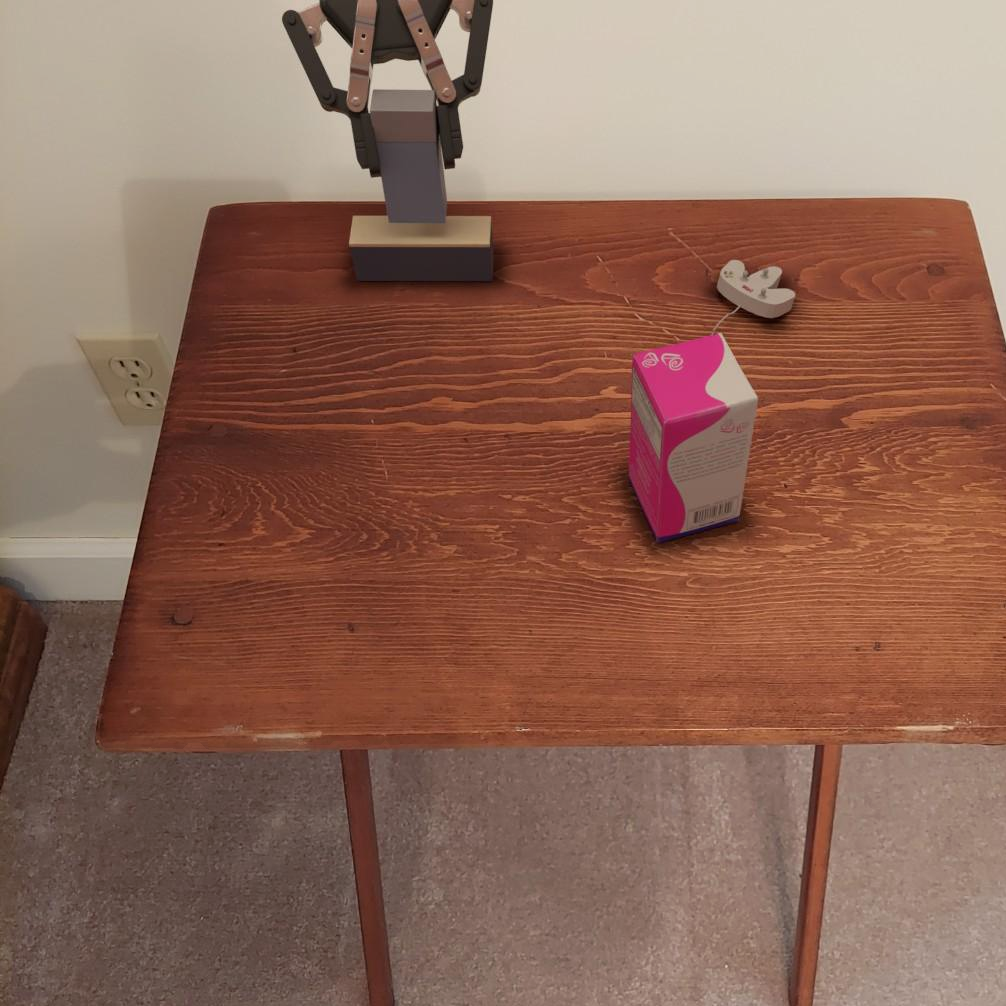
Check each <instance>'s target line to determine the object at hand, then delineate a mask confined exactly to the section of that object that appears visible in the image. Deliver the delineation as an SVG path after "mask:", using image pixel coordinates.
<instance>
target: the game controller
mask: <svg viewBox="0 0 1006 1006" xmlns="http://www.w3.org/2000/svg"><path fill="white" fill-rule="evenodd" d="M782 274H783V270H782V268H781V267H779V266H776V265H774V266H773V265H772V266H768V267H765V268H763V269H761V270H759V271H756V272H754V273H752V274H750V275H749V271H748V270H746V268H745V264H744V262H742V261H740V260H738V259H731V260H729V261H728V263H726V264H725V265H724V266H723V267H722V268H721V270H720V273H719V275H718V276H719V277H718V280H717V285H716V289H717V291H718V292H719V293H720V294H721V295H722V296H723V297H724V298H725V299H726V300H728V301H729V302H731V303H733V304H734V305H736V306H737V307H736V308H735V309H734V310H733V311H732V312H728V313H726V315H724V316H723V317H722V318H721V319H720V320H719V321H718V323H717V324H716V325H715V326H714V328H713V329H712V332H711V334H710V335H714V334H715V331H716V329H717V328H718V326H720V324H721V323H722V322H723V321H724V319H726V318H727V317H728V316H729V315H733V314H735V313H736V312H737V311H738V310H739V309H740V308H742V309H743V310H745V311H747V312H749V313H752V314H754V315H756V316H759V317H763V318H767V319H775V318H778V317H781V316H783V315H784V314H787V313H788V312H790V311H792V308H793V305H794V301H795V298H796V293H795V291H794V290H792V289H790V288H778V287H779V284H780V281H781V277H782ZM748 275H749V276H748Z"/></svg>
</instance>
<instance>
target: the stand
mask: <svg viewBox="0 0 1006 1006" xmlns="http://www.w3.org/2000/svg"><path fill="white" fill-rule="evenodd" d="M348 246H349V250H350V255H351V260H352V264H353V270H354V275H355V279H356V281H357V282H493V279H494V278H493V277H494V260H495V249H494V248H495V247H494V237H493V222H492V216H491V215H446V222H445V223H389V221H388V215H352V221H351V226H350V233H349V241H348Z"/></svg>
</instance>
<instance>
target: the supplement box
mask: <svg viewBox="0 0 1006 1006" xmlns="http://www.w3.org/2000/svg"><path fill="white" fill-rule="evenodd" d="M630 388H631V390H630V391H631V393H630V425H629V426H630V428H629V453H628V454H629V455H628V456H629V457H628V479H629V482H630V484H631V486H632V489H633V491H634V494H635V496H636V498H637V500H638V502H639V505H640V507H641V510H642V512H643V514H644V516H645V519H646V521H647V523H648V525H649V527H650V530H651V532H652V534H653V536H654V539H655V541H656V542H657V543H664V542H667V541H668V542H669V541H670V540H675V539H679V538H682V537H686V536H689V535H694V534H697V533H700V532H703V531H708V530H711V529H715V528H718V527H722V526H725V525H729V524H732V523H733V524H734V523H737V522H739V521H740V516H741V512H742V511H741V510H742V503H743V496H744V491H745V486H746V479H747V472H748V467H749V460H750V453H751V447H752V441H753V433H754V427H755V421H756V416H757V410H758V404H759V402H758V401H759V397H758V395H757V394H756V392H755V390H754V389H753V387H752V385H751V383H750V382H749V380H748V378H747V376H746V374H745V373H744V371H743V369H742V368H741V366H740V364H739V363H738V360H737V359H736V357H735V355H734V353H733V352H732V350H731V348H730V346H729V344H728V342H727V340H726V339H725V337H724V335H723V333H722V332H718V333H714V334H713V335H711V334H710V335H707V336H702V337H698V338H695V339H690V340H687V341H682V342H678V343H676V344H675V343H674V344H670V345H667V346H662V347H659V348H658V347H657V348H654V349H650V350H646V351H642V352H638V353H634V354H633V355H632V359H631V387H630Z"/></svg>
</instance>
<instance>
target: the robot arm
mask: <svg viewBox="0 0 1006 1006" xmlns="http://www.w3.org/2000/svg"><path fill="white" fill-rule="evenodd" d="M493 7H494V0H319V2H317V3H315V4H313V5H310V6H308V7H306V8H303V9H301V10H299V11H297V10H294V9H288V10H285V11H284V12H283V13H282V17H281V22H282V23H281V24H282V25H283V27H284V30H285V31H286V34H287V36H288V39H289V40H290V43H291V45H292V46H293V49H294V51H295V53H296V55H297V57H298V60H299V61H300V65H302V68H303V70H304V72H305V74H306V76H307V79H308V81H309V83H310V85H311V87H312V89H313V92H314V93H315V96H316V97H317V100H318V102H319V104H320V106H321V108H322V109H323V110H324V111H326V112H329V113H333V112H335V113H339V114H342V115H344V116H346V117H347V118H348V119H349V120H350V125H351V132H352V138H353V144H354V150H355V157H356V160H357V163H358V164H359V166H360V168H361V169H362V170H368V171H369V177H370V178H371V179H373V178H381V170H380V164H379V158H378V152H377V146H376V140H375V134H374V129H373V126H372V121H371V115H370V110H369V102H370V101H369V100H370V94H371V85H372V81H373V76H374V75H373V73H374V65H380V64H381V65H382V64H386V63H388V62H390V61H393V60H401V61H407V62H411V61H418V63H419V66H420V68H421V70H422V73H423V75H424V77H425V79H426V80H427V82H428V84H429V87H430V90H435V94H436V103H437V106H436V109H437V118H438V127H439V135H440V142H441V151H442V160H443V169H444V170H451V169H456V160H458V159H459V160H460V159H462V155H463V151H464V141H463V134H462V128H461V122H460V121H461V120H460V113H459V106H460V105H461V103H463V102H464V101H467V100H468V99H470V98H473V97H476V96H478V95H479V94H480V91H481V87H482V84H483V83H482V82H483V78H484V77H483V76H484V70H485V62H486V57H487V50H488V41H489V35H490V27H491V21H492V14H493ZM450 11H454V12H455V13H456V14H457V16H458V24H459V27H460V28H461V30H462V31H464V32H466V33H469V35H468V36H469V37H468V43H467V49H466V55H465V56H466V57H465V65H464V71H463V74H462V75H459V76H458V77H456V78H454V79H452V78H451V76H450V74H449V72H448V70H447V67H446V64H445V62H444V59H443V56H442V53H441V51H440V49H439V47H438V45H437V42H436V39H437V37H438V35H439V32H440V31H441V28H442V27H443V25H444V23H445V21H446V18H447V16H448V15H449V13H450ZM325 22H327V23H328V24H329V25H330V26H331V27H332V28H333V29H334V31H335V32H336V33H337V34H338V35H339V36H340V38H342V39H343V40H344V42H345V43H346V44H347V45H348V46H349V47H350V48H351V55H350V64H349V76H348V77H349V79H348V85H347V90H345V89H341V88H338V87H334V85H333V83H332V81H331V79H330V76H329V75H328V72H327V70H326V68H325V66H324V64H323V61H322V59H321V57H320V55H319V53H318V51H317V49H316V47H318V46H320V45H321V44H322V42H323V33H322V26H323V25H324V23H325Z"/></svg>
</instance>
